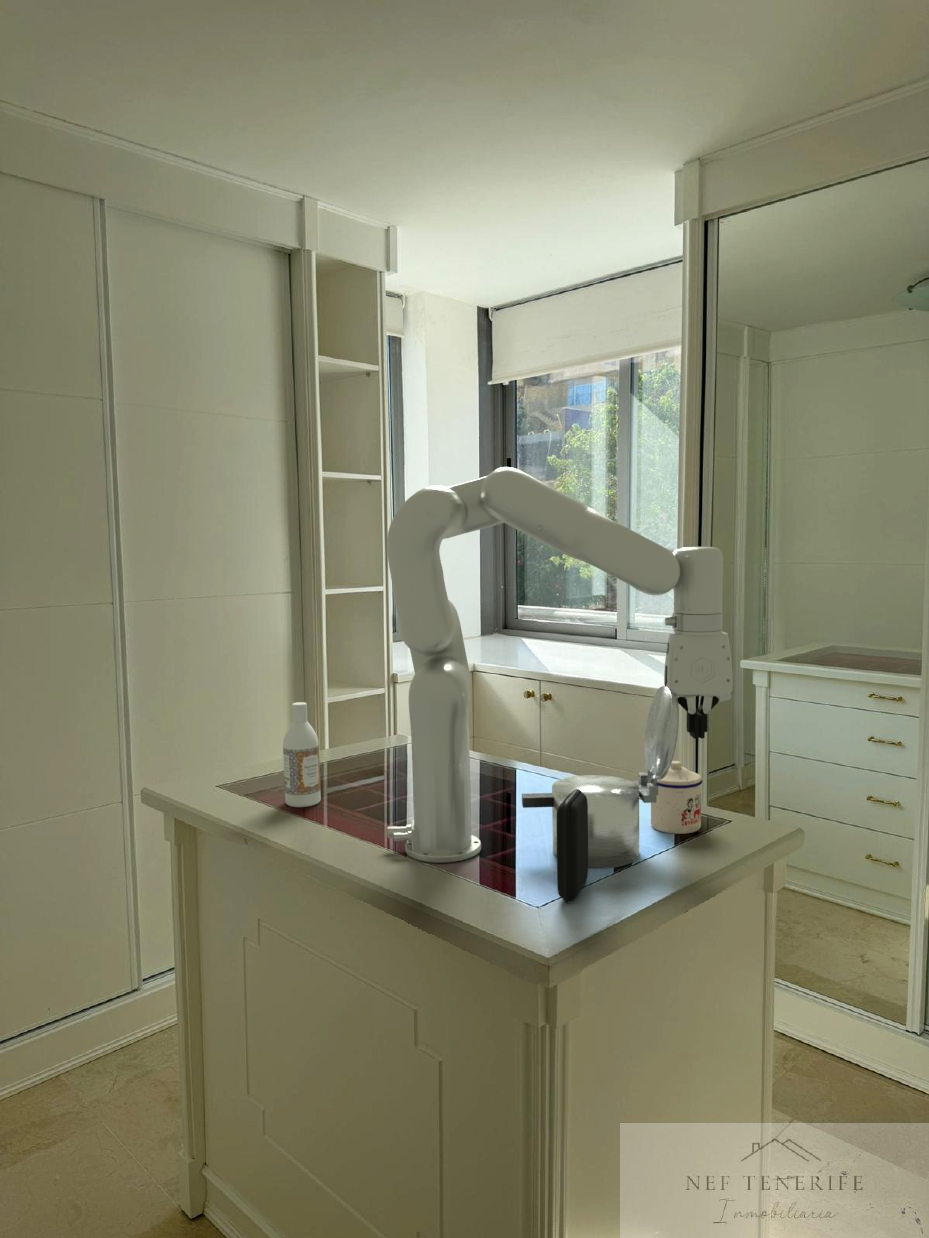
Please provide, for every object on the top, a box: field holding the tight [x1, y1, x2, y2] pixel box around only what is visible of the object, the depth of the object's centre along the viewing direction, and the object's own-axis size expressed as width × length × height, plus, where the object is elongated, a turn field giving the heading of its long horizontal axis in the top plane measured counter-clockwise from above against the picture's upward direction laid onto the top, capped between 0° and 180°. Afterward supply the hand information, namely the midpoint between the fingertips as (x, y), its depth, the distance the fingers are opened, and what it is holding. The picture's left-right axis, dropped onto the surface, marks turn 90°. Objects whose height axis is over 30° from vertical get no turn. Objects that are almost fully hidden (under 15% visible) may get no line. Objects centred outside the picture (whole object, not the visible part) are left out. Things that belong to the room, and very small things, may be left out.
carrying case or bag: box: [556, 789, 589, 904], centre depth 129 cm, size 11×3×15 cm, turn 160°
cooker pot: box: [521, 772, 658, 869], centre depth 145 cm, size 21×14×12 cm, turn 91°
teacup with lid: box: [650, 760, 703, 835], centre depth 158 cm, size 12×9×12 cm
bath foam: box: [282, 701, 322, 808], centre depth 176 cm, size 7×7×20 cm
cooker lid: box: [643, 685, 680, 784], centre depth 144 cm, size 16×15×3 cm
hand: (696, 736), depth 144 cm, fingers closed
